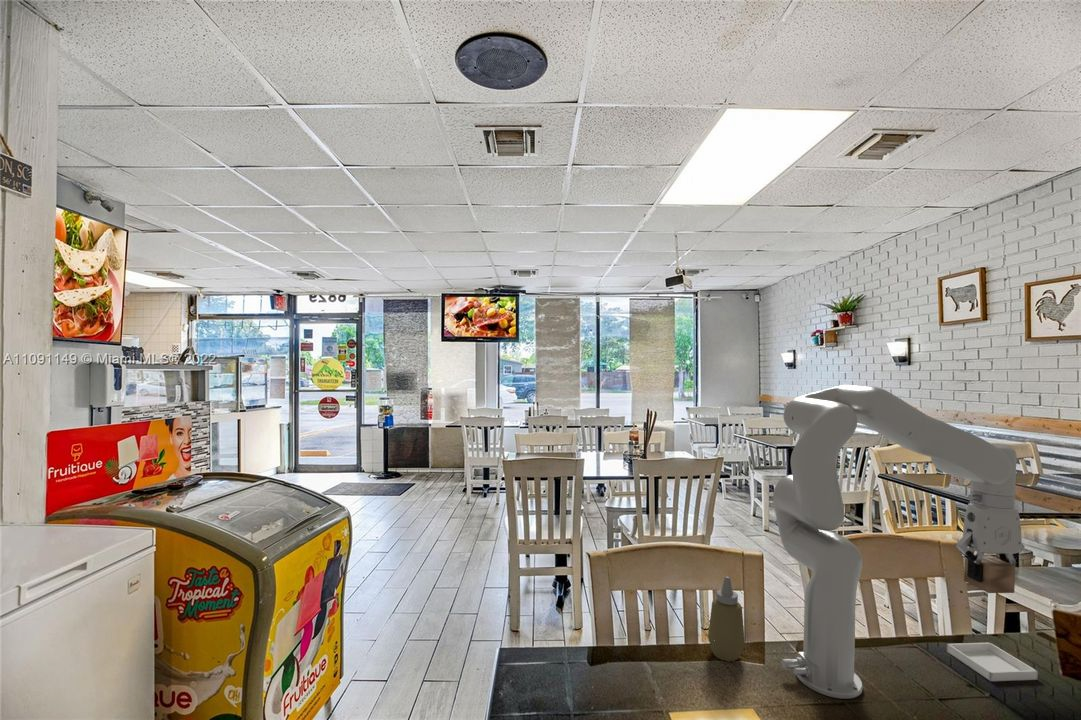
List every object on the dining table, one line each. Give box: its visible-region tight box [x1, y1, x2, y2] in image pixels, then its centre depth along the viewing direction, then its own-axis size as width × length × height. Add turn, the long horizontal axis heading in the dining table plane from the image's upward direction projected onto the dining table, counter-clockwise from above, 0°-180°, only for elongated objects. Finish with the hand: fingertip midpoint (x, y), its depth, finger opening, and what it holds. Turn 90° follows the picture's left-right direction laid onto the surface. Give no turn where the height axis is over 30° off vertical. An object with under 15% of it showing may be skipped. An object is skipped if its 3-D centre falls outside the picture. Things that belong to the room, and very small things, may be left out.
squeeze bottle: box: [707, 576, 746, 662], centre depth 118 cm, size 8×8×18 cm
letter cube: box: [963, 554, 1016, 594], centre depth 115 cm, size 6×6×6 cm
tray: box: [946, 642, 1039, 682], centre depth 115 cm, size 11×11×2 cm
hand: (988, 578), depth 115 cm, fingers closed on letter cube, 6 cm apart
